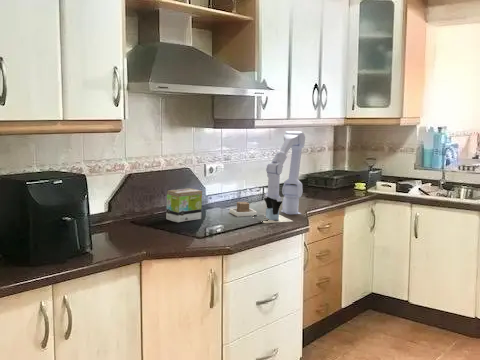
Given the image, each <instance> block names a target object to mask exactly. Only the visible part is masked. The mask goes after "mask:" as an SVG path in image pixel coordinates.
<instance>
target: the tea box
mask: <svg viewBox="0 0 480 360" xmlns="http://www.w3.org/2000/svg"><path fill="white" fill-rule="evenodd" d="M202 203H203V190H199V189H195V188H190V187H189V188H181V189H171V190H167V193H166V211H165V212H166V215H165V217H166V220H168V221H171V222H175V223H182V222H188V221H195V220H196V221H197V220H201V219H202Z"/></svg>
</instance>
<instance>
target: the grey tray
mask: <svg viewBox="0 0 480 360" xmlns="http://www.w3.org/2000/svg"><path fill="white" fill-rule="evenodd" d="M229 214H232V215H234V216H236V217H238V218H239V217H252V216H254V215H257V216H258V212H257V211H256V210H254V209H252V208H250V207H249V212H237V207H234V208H229Z"/></svg>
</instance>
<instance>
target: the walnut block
mask: <svg viewBox="0 0 480 360" xmlns="http://www.w3.org/2000/svg"><path fill="white" fill-rule="evenodd" d="M236 208H237V212H249V208H250V203H249V202H247V201H236Z"/></svg>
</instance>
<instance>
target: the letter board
mask: <svg viewBox="0 0 480 360" xmlns="http://www.w3.org/2000/svg"><path fill="white" fill-rule="evenodd" d="M288 222H293V220H292V219H290V218H287V217H286V216H283V215H281V214H279V219H278V220H268V221H263V222H262V223H264V224H269V223H271V224H272V223H273V224H274V223H288Z"/></svg>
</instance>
